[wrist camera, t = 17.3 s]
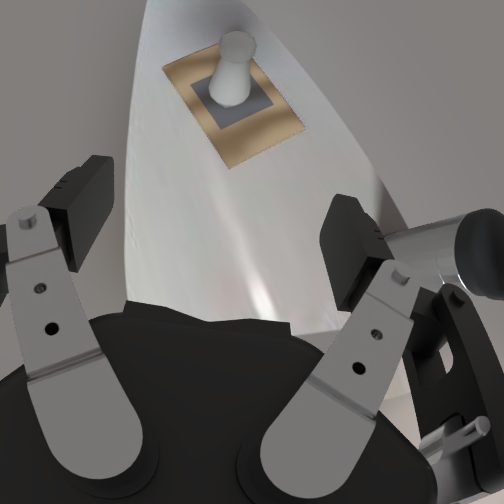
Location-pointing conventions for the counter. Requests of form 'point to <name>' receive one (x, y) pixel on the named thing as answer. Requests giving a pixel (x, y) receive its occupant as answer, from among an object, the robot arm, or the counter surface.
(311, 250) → the counter surface
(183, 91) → the wooden board
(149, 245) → the counter surface
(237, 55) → the salt shaker
